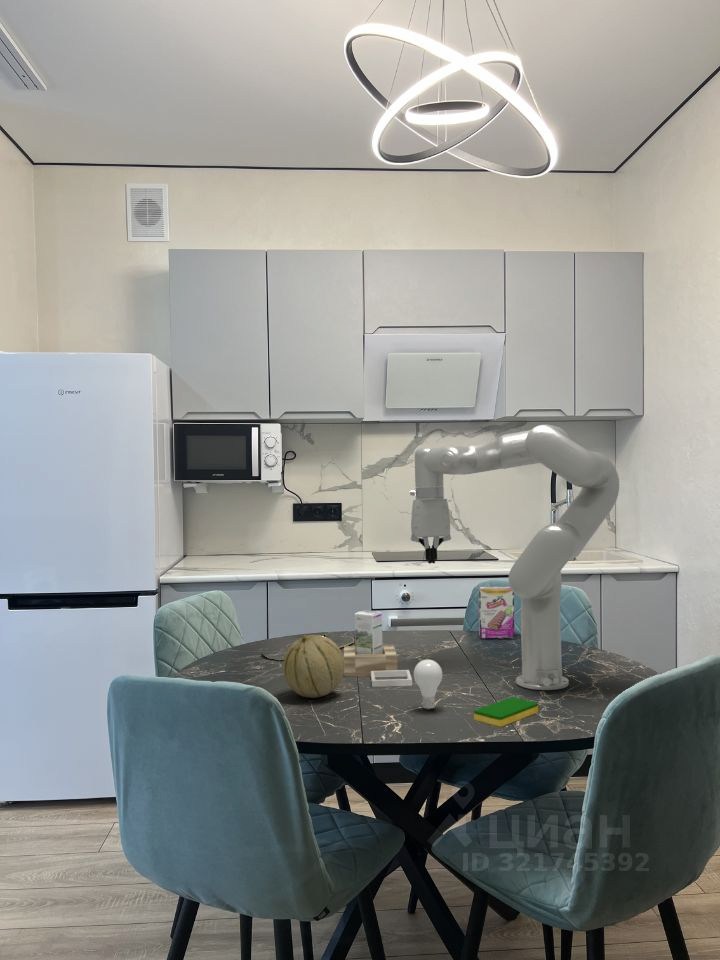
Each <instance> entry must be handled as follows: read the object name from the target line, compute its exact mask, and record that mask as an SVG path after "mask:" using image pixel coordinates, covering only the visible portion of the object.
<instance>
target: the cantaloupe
mask: <svg viewBox="0 0 720 960" xmlns="http://www.w3.org/2000/svg"><path fill="white" fill-rule="evenodd" d="M321 635H322V634H310V635H304V636H302V637H301V638H298V639H299V640H297V639H296V640H297V641H295V642H294V643H293V644H292V645H291V646H290V647H288V649H287V650H286V653H285V654H284V657H283V658H284V661H282V672H283V677H284V680H285V681H286V684H287V685H288V686H289V688H290V689H291V690H292V691H293V692H295V693H296V694H298V695H299V696H301V697H305V698H311V699H315V698H321V697H324V696H326V695H329V694H331V693H332V692H334V691H335V690H336V689H337V688H338V687H339V685H340V683H341V682H342V679H343V678H344V669H345V662H344V653H342V651H341V650H342V649H339V646H338V645H337V644H336V642H334V640H333V639H329V638H327V637H324V636H321Z"/></svg>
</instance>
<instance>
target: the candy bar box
mask: <svg viewBox="0 0 720 960" xmlns="http://www.w3.org/2000/svg"><path fill="white" fill-rule="evenodd" d="M514 594H515V593H514V592H513V591H512V589H511V588H510V586H478V634H479V635H478V636H480V637H479V639H480V638H496V637H514V638H515V599H514V598H515V595H514Z"/></svg>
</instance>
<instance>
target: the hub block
mask: <svg viewBox="0 0 720 960" xmlns="http://www.w3.org/2000/svg"><path fill="white" fill-rule="evenodd" d="M382 645H383V654H359V655H356V646H355V645H350V646H344V648H343V657H344V662H345V669H344V675H343V677H344V676H345V677H368V676H369V677H371V671H387V670H398V656H397V651H396V647H395V645H394V644H382Z"/></svg>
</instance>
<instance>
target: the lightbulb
mask: <svg viewBox="0 0 720 960" xmlns="http://www.w3.org/2000/svg"><path fill="white" fill-rule="evenodd" d="M413 678H414V681H415V683H416V685H417V686H418V687H419V689H420V694H421V696H422V707H423V708H424V709H425V710H427V711H431V710H432V709H434V708H435V707H436V698H435V697H436V694H437V689H438V687H439V685H440V684H441V682H442V679H443V670H442V667H441V666H440V664H439V663H438V662H437V661H436V660H434V659H423V660H420V661H419V662H417V664H416V665H415V668H414V670H413Z"/></svg>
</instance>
